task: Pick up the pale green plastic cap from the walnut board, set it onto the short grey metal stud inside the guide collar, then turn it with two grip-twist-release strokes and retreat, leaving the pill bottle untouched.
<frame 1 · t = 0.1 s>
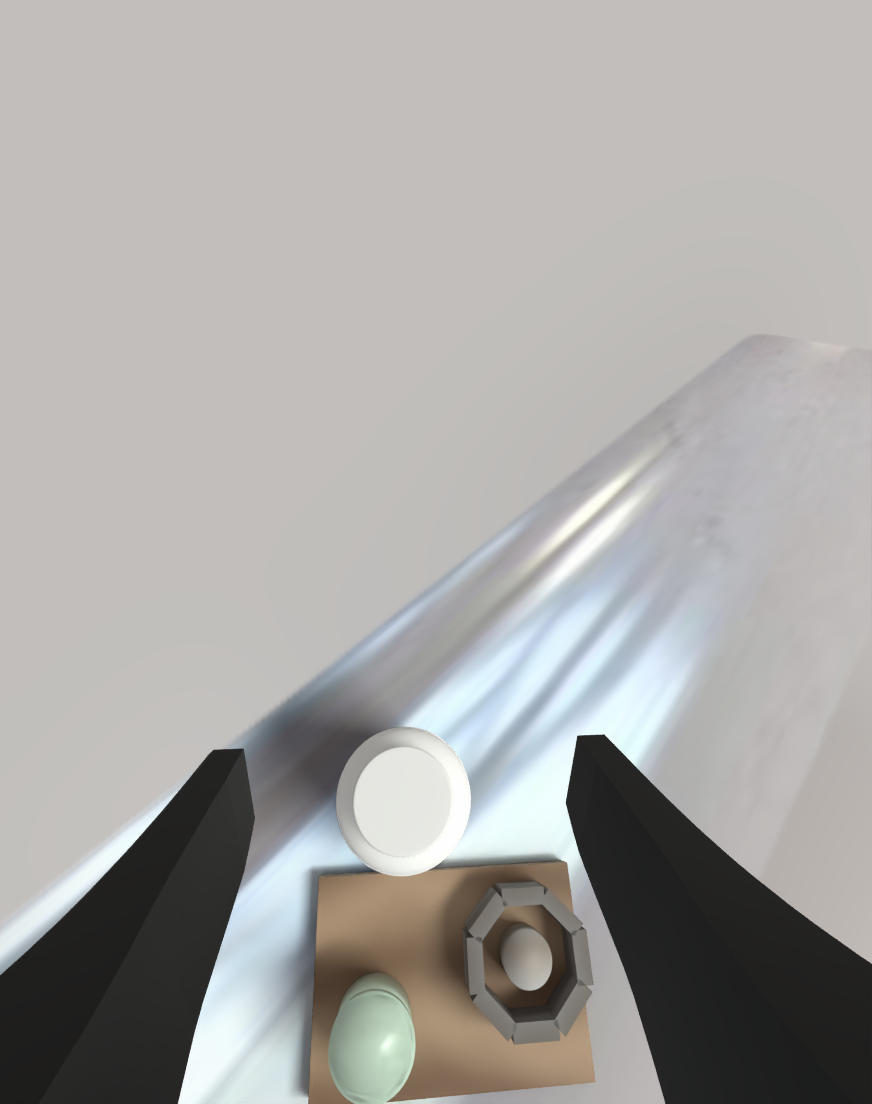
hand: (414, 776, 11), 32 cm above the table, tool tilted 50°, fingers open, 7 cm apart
pill bottle: (402, 794, 40), on the table
cap: (374, 1019, 33), point 1 cm above the table, touching stud board
stud board: (448, 968, 35), on the table
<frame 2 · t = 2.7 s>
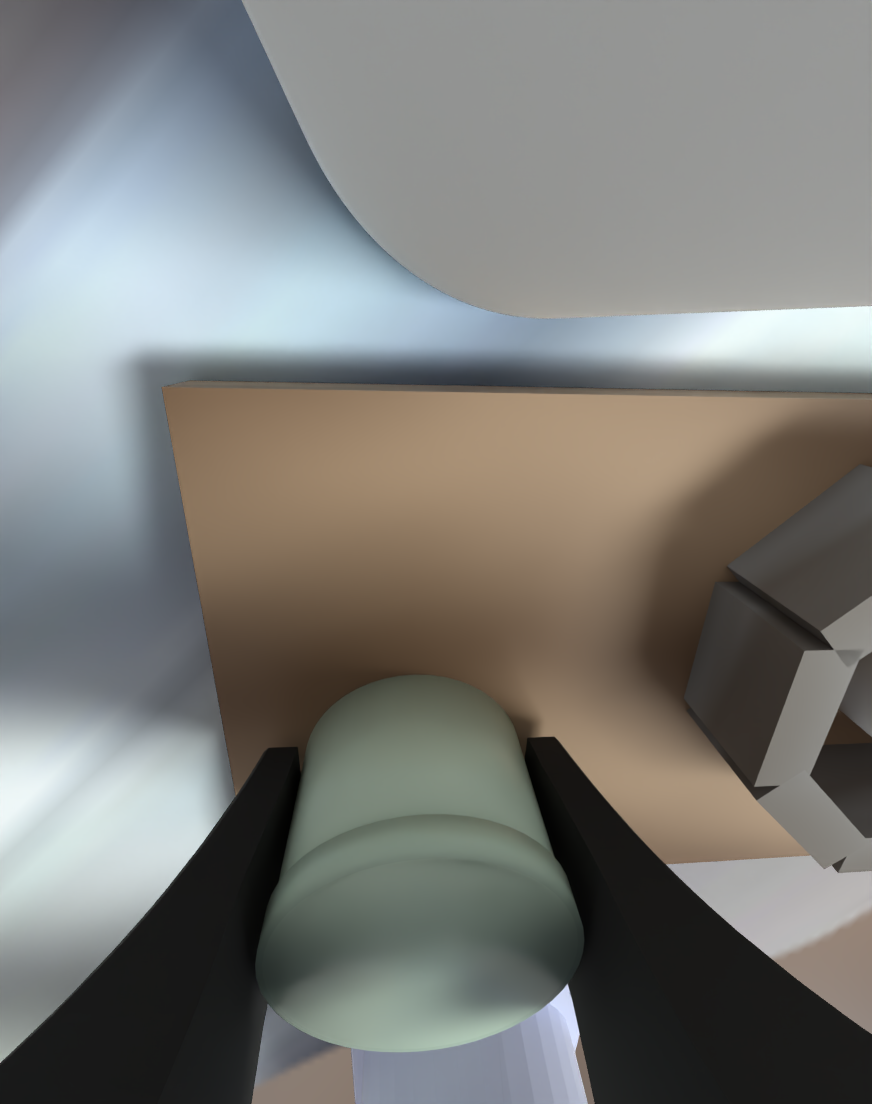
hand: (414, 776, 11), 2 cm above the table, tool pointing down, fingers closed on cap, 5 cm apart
pill bottle: (545, 39, 8), on the table
cap: (413, 762, 11), point 1 cm above the table, touching gripper, stud board
stud board: (621, 651, 12), on the table
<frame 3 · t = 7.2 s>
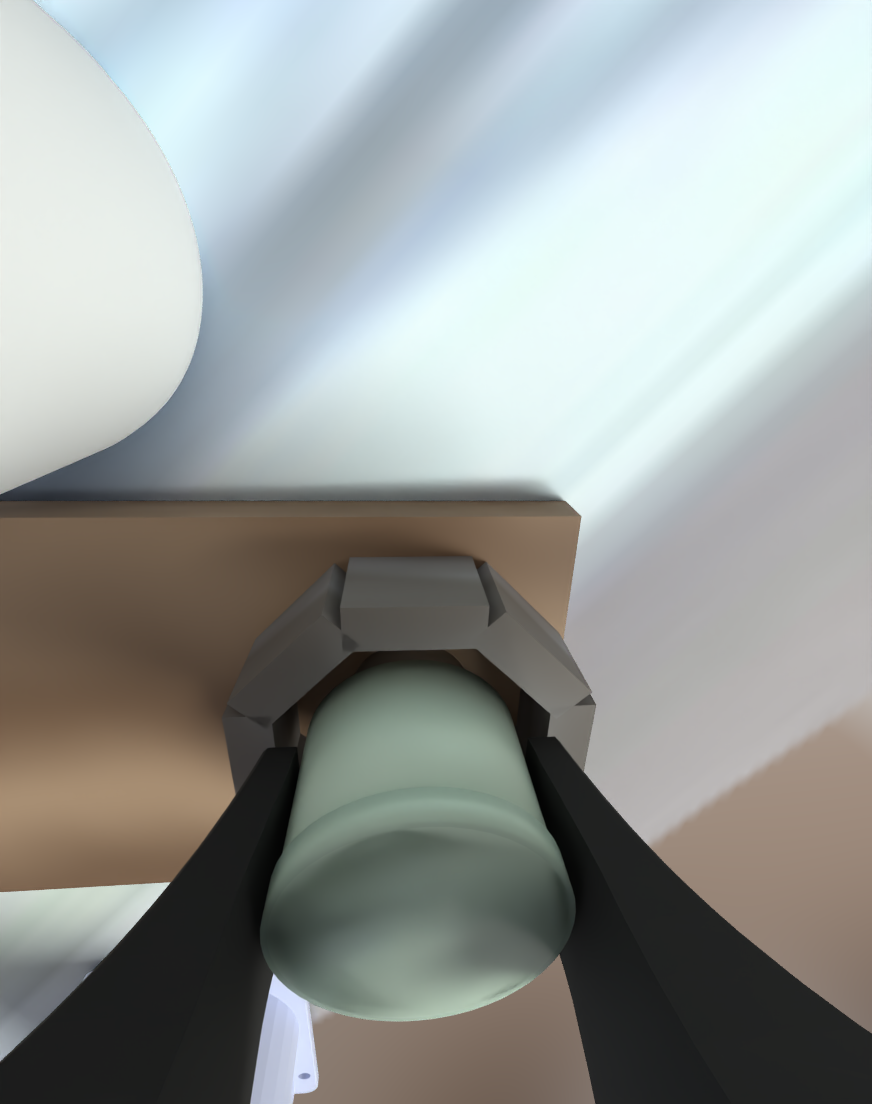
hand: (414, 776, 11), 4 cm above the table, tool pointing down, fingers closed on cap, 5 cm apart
pill bottle: (14, 259, 10), on the table
cap: (411, 746, 12), point 3 cm above the table, touching gripper, stud board
stud board: (236, 699, 15), on the table
when the fingers open (4 cm above the table, at t = 11.3 s): cap stays where it is, resting on stud board.
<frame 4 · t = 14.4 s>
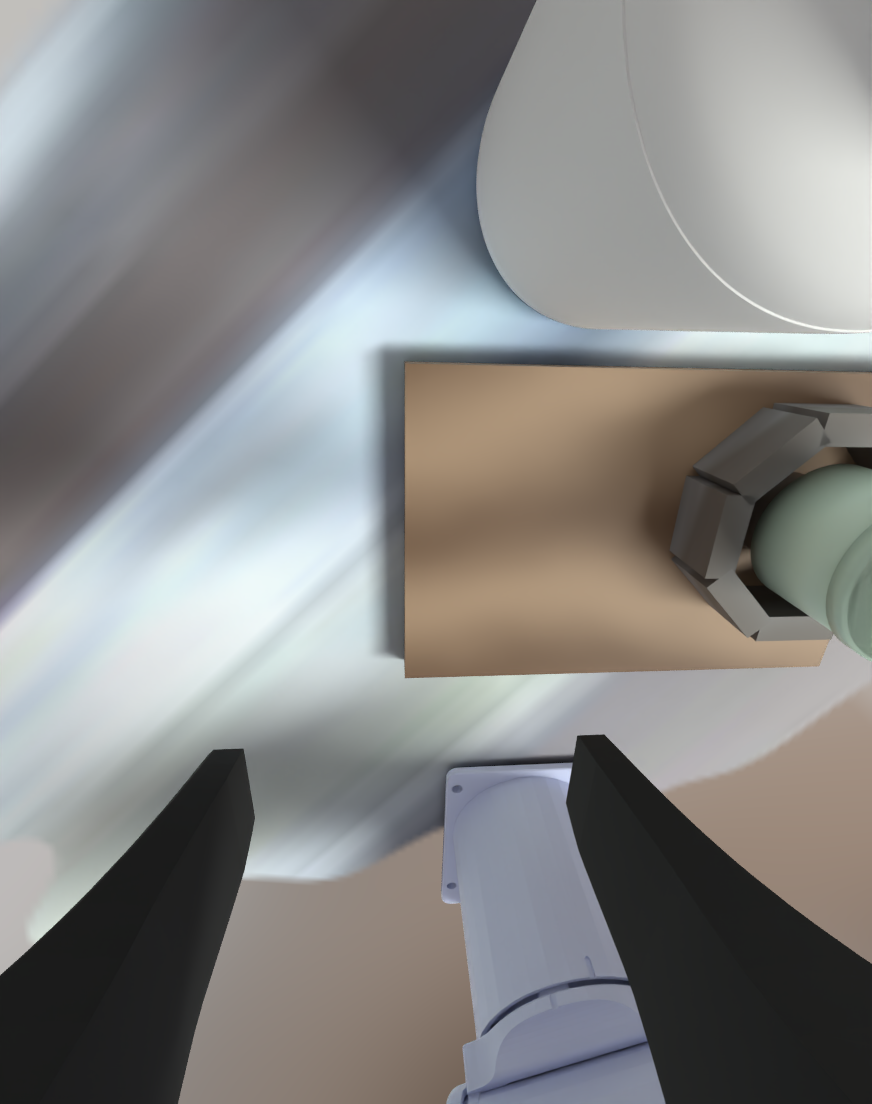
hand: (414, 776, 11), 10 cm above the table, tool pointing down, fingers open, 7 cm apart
pill bottle: (597, 191, 16), on the table
cap: (820, 533, 17), point 3 cm above the table, touching stud board
stud board: (632, 528, 20), on the table
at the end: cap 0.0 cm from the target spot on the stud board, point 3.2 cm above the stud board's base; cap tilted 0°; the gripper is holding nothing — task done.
